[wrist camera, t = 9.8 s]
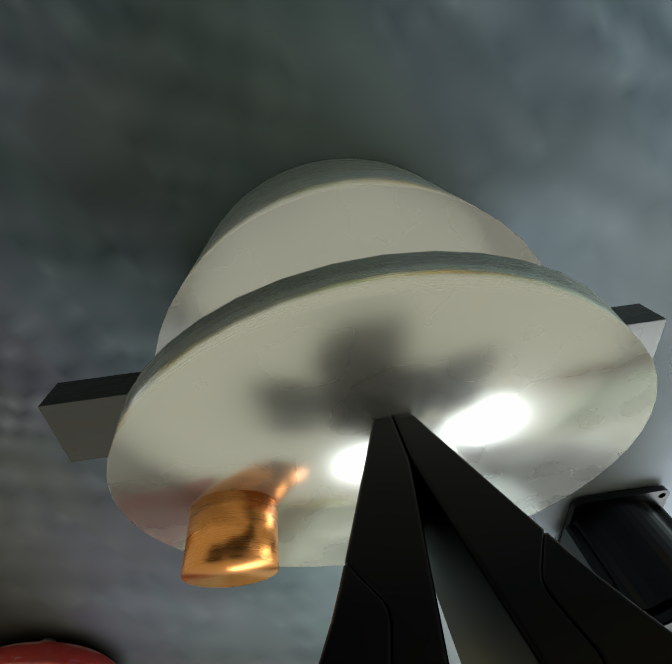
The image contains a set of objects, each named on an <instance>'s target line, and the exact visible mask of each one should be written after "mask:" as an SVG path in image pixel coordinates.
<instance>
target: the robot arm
mask: <svg viewBox="0 0 672 664" xmlns="http://www.w3.org/2000/svg"><path fill="white" fill-rule="evenodd" d="M669 493H670V492H669V491H668V490H667V489H666V488H665V487H664V486H662V485H659V486H653V487H646V488H640V489H633V490H627V491H621V492H614V493H608V494H601V495H595V496H588V497H582V498H577V499H575V500H573V501H572V502H571V504H570V508H569V511H568V515H567V518H566V521H565V525H564V528H563V531H562V535H561V538H560V542H558V541H557V540H555V539H554V538H553V537H552V536H551V535H550V534H549V533H544V530H543V528H541V527H540V526H539V525H538V524H537V523H536V522H535V521H534V520H532V519H531V518H530V517H529V516H528V515H527V514H526V513H524V512H523V511H522V510H521V509H520V508H519V507H518V506H516V505H515V504H514V503H513V502H512V501H511V500H510V499H508V498H507V497H506V496H505V495H504V494H503V493H502V492H500V491H499V490H498V489H497V488H496V487H495V486H494V485H493V484H491V483H490V482H489V481H488V480H487V479H486V478H485V477H483V476H482V475H481V474H480V473H479V472H478V471H477V470H475V469H474V468H473V467H472V466H471V465H470V464H469V463H467V462H466V461H465V460H464V459H463V458H462V457H461V456H459V455H458V454H457V453H456V452H455V451H454V450H453V449H452V448H450V447H449V446H448V445H447V444H446V443H445V442H444V441H442V440H441V439H440V438H439V437H438V436H437V435H436V434H434V433H433V432H432V431H431V430H430V429H429V428H428V427H426V426H425V425H424V424H423V423H422V422H421V421H420V420H418V419H417V418H416V417H415V416H414V415H412V414H407V415H400V416H395V417H394V418H393V419H392V418H391V417H386V418H380V419H375V420H374V421H373V423H372V428H371V433H370V438H369V443H368V448H367V453H366V458H365V463H364V468H363V473H362V478H361V483H360V488H359V493H358V498H357V503H356V508H355V513H354V518H353V523H352V528H351V533H350V538H349V543H348V548H347V553H346V558H345V566H344V567H343V572H342V577H341V582H340V587H339V591H338V595H337V600H336V604H335V608H334V613H333V617H332V621H331V624H330V628H329V631H328V634H327V638H326V641H325V645H324V648H323V651H322V655H321V658H320V661H319V664H449V660H448V655H447V649H446V644H445V639H444V634H443V629H442V623H441V618H440V613H439V608H438V603H437V597H438V600H439V603H440V605H441V608H442V611H443V614H444V617H445V619H446V622H447V625H448V628H449V631H450V633H451V636H452V639H453V642H454V644H455V647H456V650H457V653H458V656H459V658H460V661H461V664H672V517H671V516H670V515H669V514H668V513H667V512H666V511H665V510H664V509H663V507H664V504H665V502H666V500H667V498H668V496H669ZM436 594H437V597H436Z"/></svg>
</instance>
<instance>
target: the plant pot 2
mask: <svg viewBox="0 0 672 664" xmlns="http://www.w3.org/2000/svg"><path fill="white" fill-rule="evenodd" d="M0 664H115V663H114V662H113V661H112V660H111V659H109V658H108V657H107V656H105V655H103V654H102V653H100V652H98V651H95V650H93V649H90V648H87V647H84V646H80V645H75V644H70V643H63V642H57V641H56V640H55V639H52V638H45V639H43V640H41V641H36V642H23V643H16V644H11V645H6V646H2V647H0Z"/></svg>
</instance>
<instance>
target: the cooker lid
mask: <svg viewBox="0 0 672 664" xmlns="http://www.w3.org/2000/svg"><path fill="white" fill-rule="evenodd" d="M657 381H658V378H657V374H656V370H655V366H654V362H653V359H652V357H651V356H650V354H649V353H648V351H647V350H646V348H645V347H644V345H643V344H642V342H641V340H640V339H639V338H638V337H637V336H636V335H635V334H634V333H633V332H632V331H631V329H630V328H629V327H628V326H627V325H626V324H625V323H624V322H623V321H622V320H621V319H620V317H619V316H618V315H617V314H616V313H615V312H614V311H613V310H612V309H611V308H610V306H609V305H608V304H606V303H605V302H604V301H603V300H602V299H601V298H600V297H598V296H597V295H596V294H595V293H594V292H593V291H592V290H590V289H589V288H588V287H586V286H585V285H583V284H581V283H579V282H577V281H575V280H574V279H572V278H570V277H568V276H566V275H564V274H563V273H561V272H558V271H555V270H552V269H549V268H546V267H543V266H540V265H537V264H534V263H531V262H528V261H525V260H520V259H515V258H509V257H503V256H497V255H492V254H486V253H474V252H451V251H424V252H410V253H397V254H383V255H378V256H372V257H367V258H361V259H356V260H350V261H345V262H339V263H334V264H330V265H326V266H323V267H319V268H316V269H313V270H309V271H306V272H303V273H299V274H296V275H293V276H289V277H286V278H283V279H280V280H277V281H275V282H273V283H270V284H268V285H266V286H263V287H261V288H259V289H256V290H254V291H252V292H249V293H247V294H244V295H242V296H240V297H237V298H235V299H234V300H232V301H230V302H228V303H227V304H225V305H223V306H221V307H220V308H218V309H216V310H214V311H213V312H211V313H209V314H207V315H206V316H204V317H202V318H200V319H199V320H197V321H196V322H195V323H193V324H192V325H191V326H189V327H188V328H187V329H185V330H184V331H183V332H182V333H180V334H179V335H178V336H176V337H175V338H174V339H173V340H171V341H170V342H169V343H167V344H166V345H165V346H164V347H163V348H162V350H161V351H160V352H159V353H158V354H157V355H156V356H155V357H154V358H153V359H152V360H151V361H150V362H149V363H148V364H147V365H146V367H145V368H144V369H143V370H142V372H141V373H140V375H139V377H138V378H137V380H136V381H135V383H134V385H133V386H132V388H131V389H130V391H129V392H128V395H127V398H126V401H125V404H124V407H123V409H122V412H121V415H120V418H119V422H118V425H117V428H116V432H115V435H114V438H113V442H112V445H111V449H110V452H109V455H108V463H107V481H108V485H109V488H110V492H111V496H112V497H113V499H114V501H115V502H116V504H117V506H118V507H119V509H120V511H121V512H122V513H123V514H124V515H125V516H126V517H127V518H128V519H129V520H130V521H131V522H132V523H133V524H134V525H135V526H137V527H138V528H140V529H141V530H142V531H144V532H145V533H147V534H148V535H150V536H152V537H154V538H156V539H157V540H159V541H161V542H163V543H165V544H167V545H170V546H173V547H175V548H178V549H180V550H183V551H184V558H183V566H182V573H181V578H182V580H183V581H184V582H186V583H188V584H191V585H195V586H201V587H234V586H242V585H248V584H252V583H256V582H260V581H263V580H265V579H268V578H270V577H272V576H273V575H275V574H276V573H277V572H278V570H279V566H281V567H314V566H332V565H344V564H345V558H346V553H347V548H348V543H349V538H350V533H351V528H352V523H353V518H354V513H355V508H356V503H357V498H358V493H359V488H360V483H361V478H362V473H363V468H364V463H365V458H366V453H367V448H368V443H369V438H370V433H371V428H372V423H373V421H374V420H375V419H380V418H386V417H391V418H392V419H393V418H394V417H395V416H400V415H407V414H412V415H414V416H415V417H416V418H417V419H418V420H420V421H421V422H422V423H423V424H424V425H425V426H426V427H428V428H429V429H430V430H431V431H432V432H433V433H434V434H436V435H437V436H438V437H439V438H440V439H441V440H442V441H444V442H445V443H446V444H447V445H448V446H449V447H450V448H452V449H453V450H454V451H455V452H456V453H457V454H458V455H459V456H461V457H462V458H463V459H464V460H465V461H466V462H467V463H469V464H470V465H471V466H472V467H473V468H474V469H475V470H477V471H478V472H479V473H480V474H481V475H482V476H483V477H485V478H486V479H487V480H488V481H489V482H490V483H491V484H493V485H494V486H495V487H496V488H497V489H498V490H499V491H500V492H502V493H503V494H504V495H505V496H506V497H507V498H508V499H510V500H511V501H512V502H513V503H514V504H515V505H516V506H518V507H519V508H520V509H521V510H522V511H523V512H524V513H526V514H527V515H528V516H531V515H533V514H535V513H537V512H539V511H541V510H543V509H545V508H547V507H549V506H551V505H553V504H555V503H556V502H558V501H560V500H562V499H563V498H565V497H567V496H568V495H570V494H572V493H573V492H575V491H577V490H578V489H580V488H581V487H583V486H584V485H586V484H587V483H588V482H590V481H591V480H593V479H594V478H596V477H597V476H598V475H599V474H601V473H602V472H603V471H604V470H606V469H607V468H608V467H609V466H611V465H612V464H613V463H614V462H615V461H616V460H617V459H618V458H619V457H620V456H621V455H622V454H623V453H624V452H625V451H626V450H627V449H628V448H629V447H630V445H631V444H632V443H633V442H634V440H635V439H636V438H637V437H638V435H639V434H640V433H641V431H642V430H643V428H644V426H645V424H646V423H647V421H648V419H649V417H650V416H651V413H652V410H653V407H654V404H655V401H656V397H657Z"/></svg>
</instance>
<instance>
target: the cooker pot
mask: <svg viewBox="0 0 672 664" xmlns="http://www.w3.org/2000/svg"><path fill="white" fill-rule="evenodd" d="M424 251H451V252H474V253H486V254H492V255H497V256H503V257H509V258H515V259H520V260H525V261H528V262H531V263H534V264H537V265H540V266H542V265H541V263H540V262H539V260H538V259H537V257H536V256H535V255H534V254H533V253H532V251H531V250H530V249H529V248H528V246H527V245H526V244H525V243H524V242H523V240H522V239H520V238H519V237H518V236H517V235H516V234H515V233H513V232H512V231H511V230H510V229H509V228H508V227H506V226H505V225H504V224H503V223H502V222H500V221H499V220H497V219H495V218H494V217H492V216H490V215H489V214H487V213H485V212H484V211H482V210H480V209H479V208H477V207H475V206H473V205H472V204H470V203H468V202H466V201H464V200H462V199H460V198H459V197H457V196H455V195H453V194H451V193H449V192H447V191H446V190H444V189H442V188H440V187H438V186H436V185H435V184H433V183H431V182H429V181H427V180H425V179H423V178H422V177H420V176H418V175H416V174H414V173H412V172H409V171H407V170H404V169H402V168H400V167H397V166H395V165H391V164H387V163H383V162H379V161H374V160H366V159H355V158H343V159H327V160H322V161H316V162H311V163H306V164H303V165H300V166H297V167H294V168H292V169H289V170H286V171H283V172H282V173H280V174H278V175H276V176H274V177H272V178H270V179H268V180H266V181H264V182H263V183H261V184H260V185H258V186H257V187H256V188H254V189H253V190H251V191H250V192H248V193H247V194H246V195H245V196H244V197H243V198H242V199H241V200H240V201H238V202H237V203H236V204H235V205H234V206H233V207H232V208H231V209H230V210H229V212H228V213H227V214H226V215H225V217H224V218H223V219H222V221H221V222H220V223H219V224H218V226H217V227H216V229H215V231H214V232H213V234H212V236H211V237H210V239H209V241H208V242H207V244H206V246H205V247H204V249H203V251H202V252H201V254H200V256H199V257H198V259H197V261H196V262H195V264H194V266H193V267H192V269H191V271H190V272H189V274H188V276H187V277H186V279H185V281H184V282H183V284H182V286H181V288H180V289H179V291H178V293H177V295H176V296H175V298H174V300H173V302H172V303H171V305H170V307H169V309H168V312H167V314H166V317H165V320H164V322H163V325H162V327H161V330H160V333H159V338H158V343H157V348H156V353H155V356H156V355H157V354H158V353H159V352H160V351H161V350H162V348H163V347H164V346H165V345H166V344H167V343H169V342H170V341H171V340H173V339H174V338H175V337H176V336H178V335H179V334H180V333H182V332H183V331H184V330H185V329H187V328H188V327H189V326H191V325H192V324H193V323H195V322H196V321H197V320H199V319H200V318H202V317H204V316H206V315H207V314H209V313H211V312H213V311H214V310H216V309H218V308H220V307H221V306H223V305H225V304H227V303H228V302H230V301H232V300H234V299H235V298H237V297H240V296H242V295H244V294H247V293H249V292H252V291H254V290H256V289H259V288H261V287H263V286H266V285H268V284H270V283H273V282H275V281H277V280H280V279H283V278H286V277H289V276H293V275H296V274H299V273H303V272H306V271H309V270H313V269H316V268H319V267H323V266H326V265H330V264H334V263H339V262H345V261H350V260H356V259H361V258H367V257H372V256H378V255H383V254H397V253H410V252H424ZM611 309H612V310H613V311H614V312H615V313H616V314H617V315H618V316H619V317H620V319H621V320H622V321H623V322H624V323H625V324H626V325H627V326H628V327H629V328H630V329H631V331H632V332H633V333H634V334H635V335H636V336H637V337H638V338H639V339H640V340H641V342H642V344H643V345H644V347H645V348H646V350H647V351H648V353H649V354H650V356H651V357H652V359H653V357H654V355H655V352H656V349H657V346H658V343H659V341H660V338H661V335H662V332H663V329H664V326H665V324H666V321H667V319H665V318H664V317H662V316H660V315H658V314H657V313H655V312H653V311H651V310H649V309H648V308H646V307H644V306H642V305H641V304H633V305H625V306H618V307H611ZM140 373H141V372H136V373H128V374H121V375H114V376H107V377H99V378H92V379H85V380H77V381H70V382H63V383H57V385H56V386H55V387H54V388H53V389H52V391H51V392H50V393H49V394H48V395H47V397H46V398H45V399H44V400H43V401H42V403H41V404H40V405H39V406H38V408H39V409H40V411H41V413H42V414H43V416H44V418H45V419H46V421H47V423H48V424H49V426H50V428H51V429H52V431H53V433H54V434H55V436H56V437H57V439H58V441H59V442H60V444H61V446H62V447H63V449H64V451H65V452H66V454H67V456H68V457H69V459H70V461H71V462H76V461H82V460H89V459H96V458H103V457H108V455H109V452H110V449H111V445H112V442H113V438H114V435H115V432H116V428H117V425H118V422H119V418H120V415H121V412H122V409H123V407H124V404H125V401H126V398H127V395H128V392H129V391H130V389H131V388H132V386H133V385H134V383H135V381H136V380H137V378H138V377H139V375H140Z"/></svg>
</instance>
